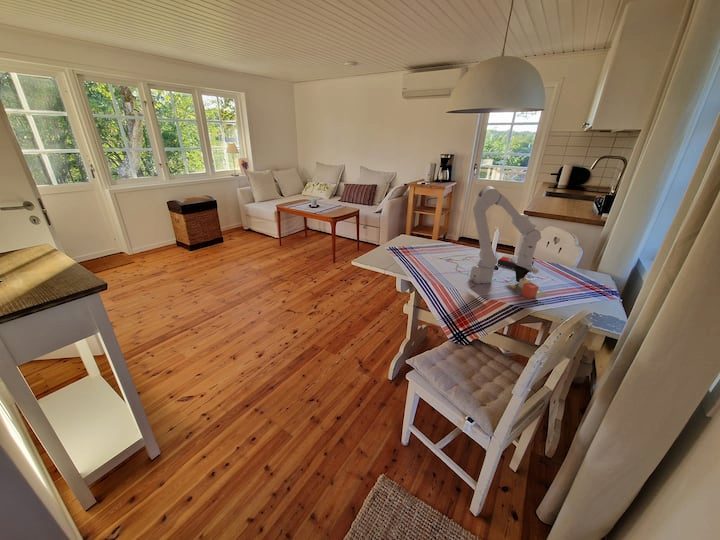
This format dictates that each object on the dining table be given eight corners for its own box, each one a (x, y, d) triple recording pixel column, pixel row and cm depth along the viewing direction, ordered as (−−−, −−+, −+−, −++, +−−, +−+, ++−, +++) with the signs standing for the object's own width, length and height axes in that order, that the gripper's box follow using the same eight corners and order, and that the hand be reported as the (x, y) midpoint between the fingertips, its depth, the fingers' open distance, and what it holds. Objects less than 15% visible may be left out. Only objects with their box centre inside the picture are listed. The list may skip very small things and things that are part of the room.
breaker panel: (526, 302, 122) (527, 297, 121) (505, 289, 132) (506, 284, 131) (548, 298, 125) (549, 293, 124) (525, 285, 135) (527, 281, 135)
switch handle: (521, 287, 130) (523, 280, 129) (518, 285, 132) (520, 278, 131) (528, 286, 132) (530, 279, 130) (525, 284, 133) (526, 277, 132)
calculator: (504, 253, 165) (534, 259, 155) (503, 260, 166) (532, 266, 157) (498, 258, 157) (528, 265, 148) (496, 266, 159) (526, 273, 149)
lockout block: (528, 298, 122) (531, 287, 120) (520, 293, 125) (523, 283, 123) (535, 297, 123) (538, 286, 121) (528, 292, 126) (531, 282, 124)
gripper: (547, 258, 123) (538, 287, 129) (520, 247, 136) (513, 273, 142) (534, 260, 121) (526, 289, 127) (508, 249, 134) (501, 275, 140)
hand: (518, 281), depth 134 cm, fingers closed
